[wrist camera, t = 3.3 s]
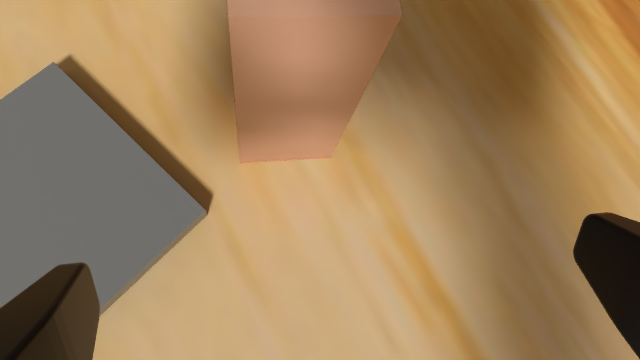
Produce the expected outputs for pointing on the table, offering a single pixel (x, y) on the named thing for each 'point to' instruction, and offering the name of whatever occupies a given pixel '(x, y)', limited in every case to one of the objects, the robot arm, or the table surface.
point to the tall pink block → (302, 71)
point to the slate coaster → (80, 192)
